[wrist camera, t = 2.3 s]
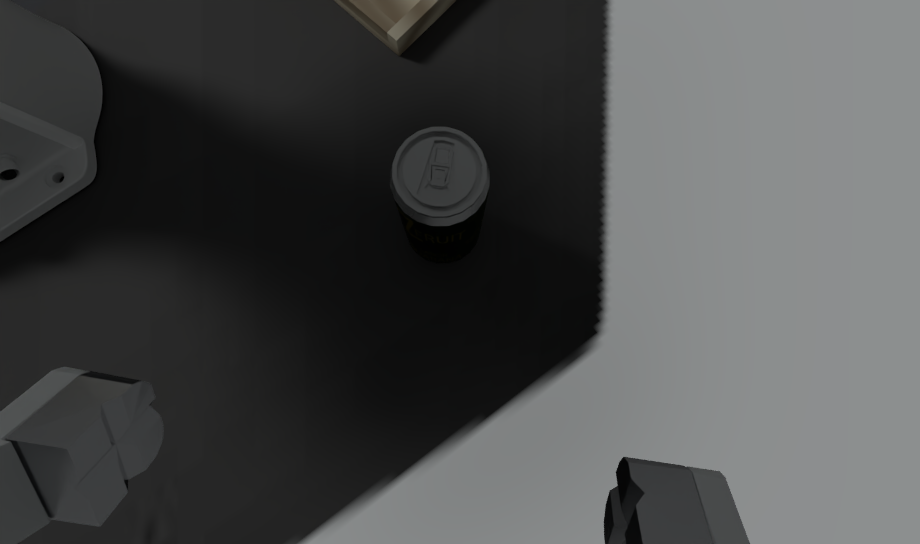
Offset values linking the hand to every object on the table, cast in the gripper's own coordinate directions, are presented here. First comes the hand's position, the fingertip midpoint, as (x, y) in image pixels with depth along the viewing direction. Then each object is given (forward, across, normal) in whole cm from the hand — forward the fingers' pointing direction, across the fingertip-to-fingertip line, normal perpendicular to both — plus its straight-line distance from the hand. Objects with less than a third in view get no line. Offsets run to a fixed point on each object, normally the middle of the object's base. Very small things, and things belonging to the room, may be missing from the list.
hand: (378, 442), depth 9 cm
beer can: (+29, +3, +10) cm, 31 cm away
